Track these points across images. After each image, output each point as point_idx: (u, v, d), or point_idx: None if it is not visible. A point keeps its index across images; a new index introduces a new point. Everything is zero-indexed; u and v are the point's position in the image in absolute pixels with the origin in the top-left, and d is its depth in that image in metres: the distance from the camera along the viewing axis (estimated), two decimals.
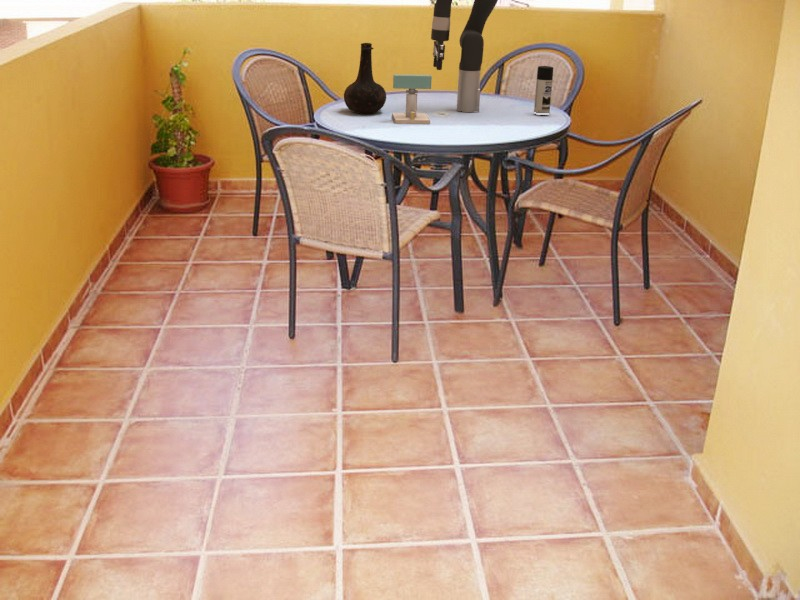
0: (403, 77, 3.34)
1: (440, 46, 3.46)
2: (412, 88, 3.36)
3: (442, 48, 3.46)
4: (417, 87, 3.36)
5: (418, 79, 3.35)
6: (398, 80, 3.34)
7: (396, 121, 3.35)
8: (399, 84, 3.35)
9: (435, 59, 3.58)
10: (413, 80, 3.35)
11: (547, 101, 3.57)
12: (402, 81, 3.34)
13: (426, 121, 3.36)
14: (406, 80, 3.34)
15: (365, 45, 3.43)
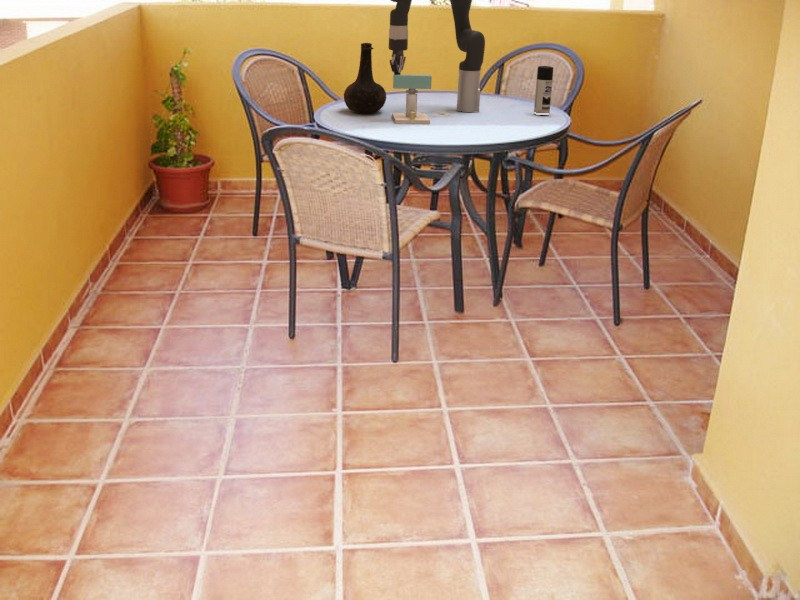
0: (403, 77, 3.34)
1: None
2: (412, 88, 3.36)
3: None
4: (417, 87, 3.36)
5: (418, 79, 3.35)
6: (398, 80, 3.34)
7: (396, 121, 3.35)
8: (399, 84, 3.35)
9: None
10: (413, 80, 3.35)
11: (547, 101, 3.57)
12: (402, 81, 3.34)
13: (426, 121, 3.36)
14: (406, 80, 3.34)
15: (365, 45, 3.43)
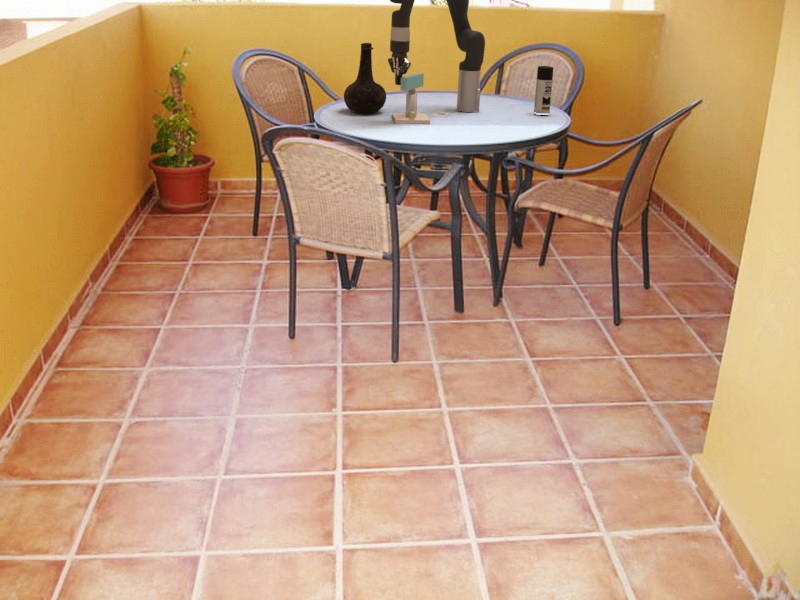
0: (411, 78, 3.32)
1: None
2: (414, 88, 3.37)
3: None
4: (417, 86, 3.38)
5: (418, 77, 3.37)
6: (408, 82, 3.31)
7: (396, 121, 3.35)
8: (409, 86, 3.32)
9: None
10: (415, 80, 3.36)
11: (547, 101, 3.57)
12: (410, 82, 3.32)
13: (426, 121, 3.36)
14: (412, 81, 3.33)
15: (365, 45, 3.43)
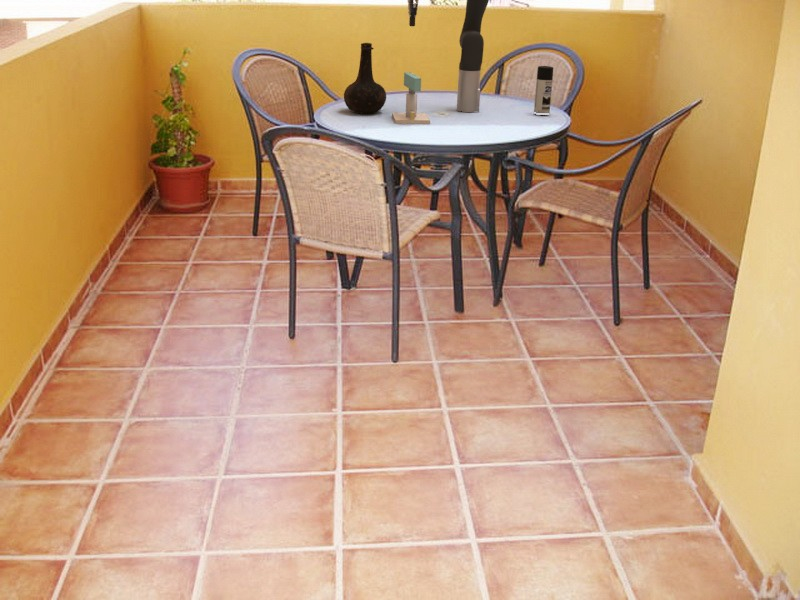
0: None
1: None
2: None
3: None
4: None
5: None
6: None
7: (396, 121, 3.35)
8: None
9: None
10: None
11: (547, 101, 3.57)
12: None
13: (426, 121, 3.36)
14: None
15: (365, 45, 3.43)
